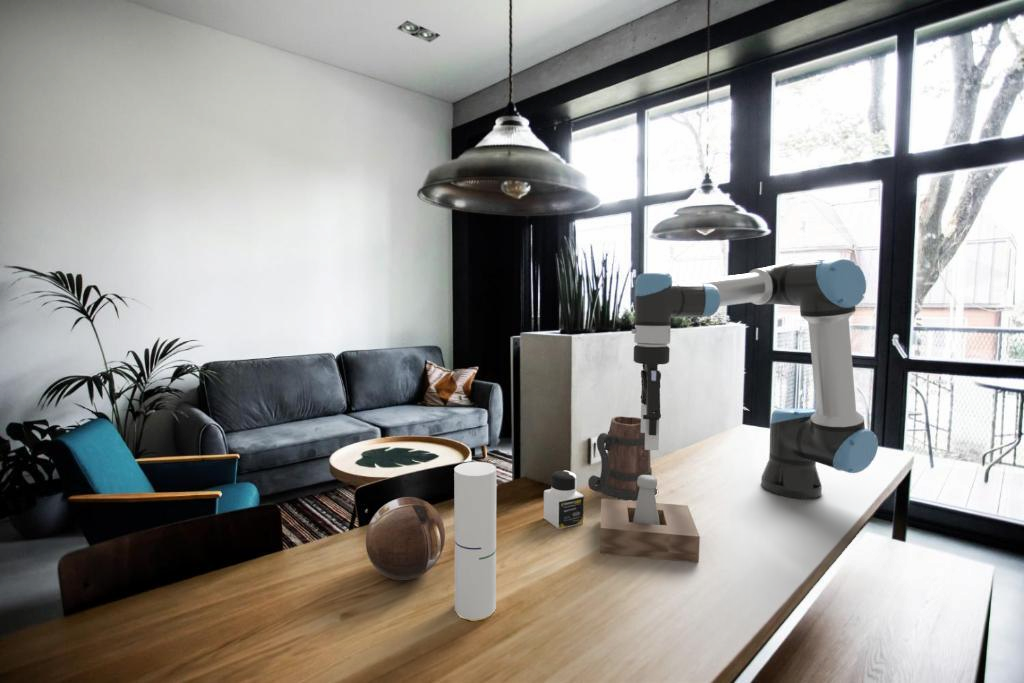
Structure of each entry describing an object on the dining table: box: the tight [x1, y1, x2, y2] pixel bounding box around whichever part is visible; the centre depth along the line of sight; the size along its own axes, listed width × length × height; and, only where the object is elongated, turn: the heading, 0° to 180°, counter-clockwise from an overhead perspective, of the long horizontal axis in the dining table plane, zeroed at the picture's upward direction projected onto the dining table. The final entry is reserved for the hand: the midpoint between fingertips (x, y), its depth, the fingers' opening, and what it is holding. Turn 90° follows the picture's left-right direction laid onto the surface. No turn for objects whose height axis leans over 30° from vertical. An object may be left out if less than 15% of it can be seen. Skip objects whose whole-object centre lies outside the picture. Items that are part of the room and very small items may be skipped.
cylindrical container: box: [453, 461, 497, 620], centre depth 87 cm, size 7×7×25 cm
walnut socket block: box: [599, 498, 701, 563], centre depth 114 cm, size 20×16×6 cm
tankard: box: [587, 415, 658, 501], centre depth 142 cm, size 24×17×20 cm
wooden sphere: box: [365, 496, 446, 581], centre depth 99 cm, size 15×15×15 cm
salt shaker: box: [633, 475, 660, 525], centre depth 113 cm, size 6×6×13 cm
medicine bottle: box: [543, 469, 585, 530], centre depth 123 cm, size 7×7×12 cm
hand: (648, 440), depth 112 cm, fingers open, 13 cm apart
